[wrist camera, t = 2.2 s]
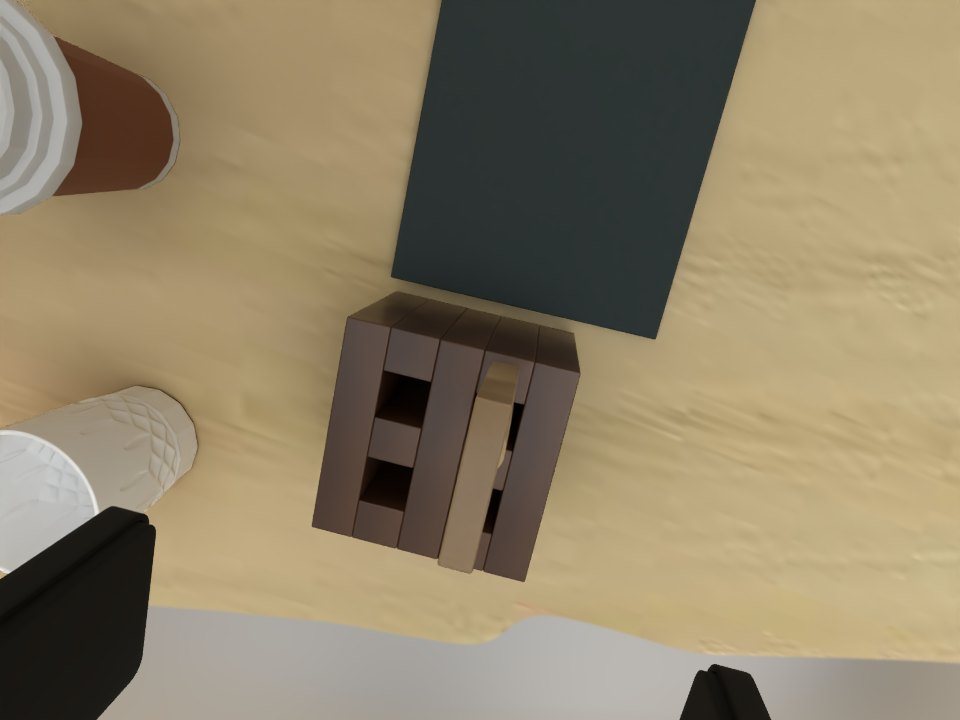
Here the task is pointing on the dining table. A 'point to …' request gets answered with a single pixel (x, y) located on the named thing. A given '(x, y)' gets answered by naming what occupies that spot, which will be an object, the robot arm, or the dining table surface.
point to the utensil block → (440, 427)
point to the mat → (566, 151)
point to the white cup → (87, 465)
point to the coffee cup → (74, 119)
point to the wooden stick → (479, 466)
